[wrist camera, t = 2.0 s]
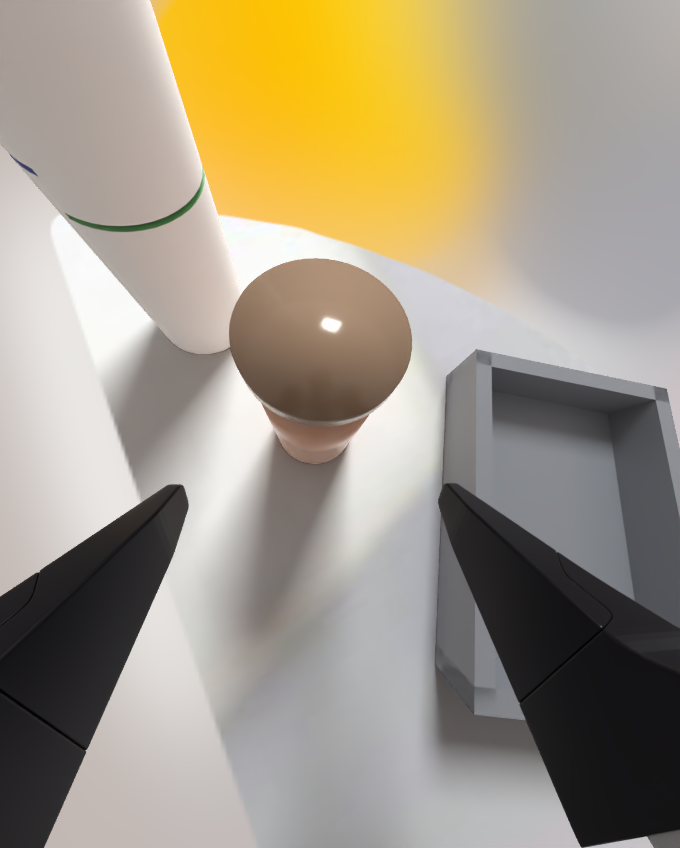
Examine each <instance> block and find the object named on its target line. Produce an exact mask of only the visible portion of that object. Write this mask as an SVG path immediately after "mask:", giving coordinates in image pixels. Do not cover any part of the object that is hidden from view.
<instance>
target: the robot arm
mask: <svg viewBox="0 0 680 848" xmlns="http://www.w3.org/2000/svg"><path fill="white" fill-rule="evenodd" d="M438 504H439V508H440V511H441V515H442V518H443V521H444V524H445V528H446V531H447V534H448V537H449V540H450V543H451V546H452V548H453V551H454V553H455V556H456V558H457V560H458V563H459V565H460V567H461V570H462V572H463V574H464V577H465V579H466V581H467V584H468V586H469V588H470V591H471V593H472V595H473V598H474V600H475V602H476V605H477V607H478V609H479V612H480V614H481V616H482V619H483V621H484V623H485V626H486V628H487V630H488V633H489V635H490V637H491V640H492V642H493V644H494V647H495V649H496V651H497V654H498V656H499V658H500V661H501V663H502V665H503V668H504V670H505V672H506V675H507V677H508V679H509V682H510V684H511V686H512V689H513V691H514V693H515V696H516V698H517V700H518V702H519V703H520V704H519V706H520V708H521V710H522V713H523V715H524V717H525V720H526V722H527V724H528V727H529V729H530V731H531V734H532V736H533V738H534V741H535V743H536V745H537V748H538V750H539V752H540V755H541V757H542V759H543V762H544V764H545V766H546V769H547V771H548V773H549V776H550V778H551V780H552V783H553V785H554V787H555V790H556V792H557V794H558V797H559V799H560V801H561V804H562V806H563V808H564V811H565V813H566V815H567V818H568V820H569V822H570V825H571V827H572V829H573V832H574V834H575V836H576V838H577V840H578V842H579V844H580V846H581V847H582V848H584V847H590V846H595V845H601V844H606V843H612V842H618V841H623V840H629V839H634V838H640V837H645V836H647V837H648V839H649V840H650V842H651V844H652V845H653V847H654V848H680V628H679V627H677V626H675V625H674V624H672V623H670V622H669V621H667V620H665V619H664V618H662V617H661V616H659V615H657V614H656V613H654V612H652V611H651V610H649V609H647V608H646V607H644V606H643V605H641V604H639V603H638V602H636V601H634V600H633V599H631V598H629V597H628V596H626V595H624V594H623V593H621V592H620V591H618V590H616V589H615V588H613V587H611V586H610V585H608V584H607V583H605V582H603V581H602V580H600V579H599V578H597V577H595V576H594V575H592V574H591V573H589V572H588V571H586V570H585V569H583V568H582V567H580V566H578V565H577V564H575V563H574V562H572V561H571V560H569V559H568V558H567V557H565V556H564V555H562V554H561V553H559V552H556V550H555V549H553V548H552V547H550V546H549V545H547V544H546V543H544V542H543V541H541V540H540V539H538V538H537V537H535V536H534V535H533V534H531V533H530V532H528V531H527V530H525V529H524V528H522V527H521V526H519V525H518V524H516V523H515V522H513V521H512V520H510V519H509V518H507V517H506V516H504V515H503V514H502V513H500V512H499V511H497V510H496V509H494V508H493V507H491V506H490V505H488V504H487V503H485V502H484V501H482V500H481V499H479V498H478V497H476V496H475V495H474V494H472V493H471V492H469V491H468V490H466V489H465V488H463V487H462V486H460V485H459V484H457V483H445V484H444V485H443V487H442V490H441V493H440V496H439V499H438ZM188 506H189V504H188V499H187V496H186V492H185V489H184V486H183V485H181V484H171V485H167V486H166V487H164V488H163V489H161V490H160V491H158V492H157V493H155V494H154V495H152V496H151V497H149V498H148V499H146V500H145V501H143V502H142V503H140V504H139V505H137V506H136V507H134V508H133V509H131V510H130V511H128V512H127V513H125V514H124V515H122V516H121V517H119V518H118V519H116V520H115V521H113V522H112V523H110V524H109V525H107V526H106V527H104V528H103V529H101V530H100V531H98V532H97V533H95V534H94V535H92V536H91V537H89V538H88V539H86V540H85V541H83V542H82V543H80V544H79V545H77V546H76V547H74V548H73V549H71V550H70V551H68V552H67V553H65V554H64V555H62V556H61V557H59V558H58V559H56V560H55V561H53V562H52V563H50V564H49V565H47V566H46V567H44V568H43V569H41V570H40V572H39V573H35V574H34V575H32V576H31V577H29V578H28V579H26V580H25V581H23V582H22V583H20V584H19V585H17V586H16V587H14V588H13V589H11V590H10V591H8V592H7V593H5V594H3V595H2V596H1V597H0V848H44V846H45V844H46V842H47V839H48V837H49V835H50V833H51V831H52V828H53V826H54V824H55V821H56V819H57V817H58V815H59V813H60V810H61V808H62V806H63V803H64V801H65V799H66V796H67V794H68V792H69V790H70V788H71V785H72V783H73V781H74V778H75V776H76V774H77V772H78V770H79V767H80V765H81V763H82V761H83V758H84V756H85V754H86V751H85V750H87V748H88V747H89V744H90V742H91V740H92V738H93V735H94V733H95V731H96V728H97V726H98V724H99V722H100V719H101V717H102V715H103V713H104V710H105V708H106V706H107V704H108V701H109V699H110V697H111V694H112V692H113V690H114V688H115V686H116V683H117V681H118V679H119V676H120V674H121V672H122V670H123V668H124V665H125V663H126V661H127V659H128V656H129V654H130V652H131V649H132V647H133V645H134V643H135V640H136V638H137V636H138V634H139V631H140V629H141V627H142V625H143V623H144V620H145V618H146V616H147V613H148V611H149V609H150V607H151V604H152V602H153V600H154V598H155V595H156V593H157V591H158V589H159V586H160V584H161V582H162V579H163V577H164V575H165V573H166V571H167V568H168V566H169V564H170V562H171V559H172V557H173V554H174V551H175V549H176V546H177V542H178V539H179V536H180V533H181V530H182V527H183V524H184V520H185V517H186V514H187V511H188Z"/></svg>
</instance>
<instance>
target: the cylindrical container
mask: <svg viewBox="0 0 680 848" xmlns="http://www.w3.org/2000/svg"><path fill="white" fill-rule="evenodd" d="M0 144H1V145H2V146H3V148H4V149H6V151H8V153H9V154H10V156H11V157H12V158H13V159H14V160H15V162H16V163H17V164H18V165H19V166H20V167H21V168H22V170H23V171H24V172H25V173H26V174H27V175H28V176H29V178H30V179H31V180H32V181H33V182H34V183H35V185H36V186H37V187H38V188H39V189H40V190H41V191H42V193H43V194H44V195H45V196H46V197H47V198H48V199H49V201H50V202H51V203H52V204H53V205H54V206H55V208H56V209H57V210H58V211H59V212H60V213H61V215H62V216H63V217H64V218H65V219H66V220H67V222H68V223H69V224H70V225H71V226H72V227H73V229H74V230H75V231H76V232H77V233H78V234H79V235H80V237H81V238H82V239H83V240H84V241H85V242H86V244H87V245H88V246H89V247H90V248H91V249H92V250H93V252H94V253H95V254H96V255H97V256H98V257H99V259H100V260H101V261H102V262H103V263H104V264H105V265H106V267H107V268H108V269H109V270H110V271H111V272H112V274H113V275H114V276H115V277H116V278H117V279H118V281H119V282H120V283H121V284H122V285H123V286H124V287H125V289H126V290H127V291H128V292H129V293H130V294H131V296H132V297H133V298H134V299H135V300H136V301H137V303H138V304H139V305H140V306H141V307H142V308H143V309H144V311H145V312H146V313H147V314H148V315H149V316H150V318H151V319H152V320H153V321H154V322H155V323H156V325H157V326H158V327H159V328H160V329H161V330H162V332H163V333H164V334H165V335H166V336H167V337H168V338H169V340H170V341H171V342H172V343H173V344H174V345H176V346H177V347H179V348H180V349H183V350H185V351H187V352H191V353H195V354H213V353H218V352H221V351H224V350H226V349H228V348H230V343H229V324H230V319H231V315H232V312H233V309H234V307H235V304H236V302H237V300H238V299H239V297H240V295H241V294H242V289H241V286H240V283H239V280H238V277H237V274H236V271H235V267H234V264H233V261H232V258H231V255H230V252H229V248H228V245H227V242H226V239H225V236H224V233H223V229H222V226H221V223H220V220H219V217H218V214H217V210H216V207H215V204H214V201H213V198H212V195H211V192H210V189H209V185H208V182H207V179H206V176H205V173H204V169H203V166H202V164H201V160H200V157H199V154H198V151H197V147H196V144H195V141H194V138H193V135H192V131H191V129H190V125H189V122H188V119H187V116H186V112H185V109H184V106H183V103H182V100H181V97H180V93H179V90H178V87H177V84H176V81H175V78H174V74H173V71H172V68H171V65H170V62H169V59H168V56H167V52H166V49H165V46H164V43H163V40H162V37H161V34H160V30H159V27H158V24H157V21H156V17H155V14H154V11H153V8H152V5H151V2H150V0H0Z"/></svg>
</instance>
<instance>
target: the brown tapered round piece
mask: <svg viewBox="0 0 680 848" xmlns="http://www.w3.org/2000/svg"><path fill="white" fill-rule="evenodd" d="M229 343H230V348H231V353H232V356H233V359H234V361H235V364H236V366H237V368H238V370H239V372H240V374H241V376H242V377H243V379H244V381H245V383H246V384H247V386H248V388H249V389H250V391H251V392H252V393H253V394H254V396H255V397H256V398H257V399H258V400H259V401H260V402H261V403H262V405H263V407H264V410H265V412H266V414H267V416H268V418H269V420H270V422H271V424H272V426H273V428H274V430H275V432H276V434H277V436H278V438H279V440H280V443H281V444H282V446H283V448H284V449H285V450H286V452H287V453H288V454H289V455H291V456H292V457H293V458H295V459H297V460H299V461H301V462H304V463H308V464H320V463H325V462H328V461H330V460H333V459H334V458H336V457H337V456H338V455H340V454H341V453H342V452H343V450H344V449H345V448H346V446H347V445H348V444H349V442H350V441H351V439H352V438H353V437H354V435H355V434H356V432H357V431H358V430H359V428H360V427H361V425H362V424H363V423H364V421H365V420H366V419H367V417H368V416H369V414H370V413H372V412H373V411H374V410H376V409H377V408H378V407H379V406H381V405H382V404H383V403H384V402H385V400H386V399H387V398H388V397H389V396H390V395H391V393H392V392H393V391H394V389H395V388H396V387H397V385H398V384H399V383H400V381H401V380H402V378H403V376H404V374H405V372H406V370H407V368H408V364H409V361H410V357H411V351H412V336H411V329H410V325H409V321H408V318H407V316H406V314H405V311H404V309H403V307H402V306H401V304H400V302H399V301H398V299H397V298H396V297H395V295H394V294H393V293H392V292H391V291H390V290H389V289H388V288H387V287H386V286H385V285H384V284H383V283H382V282H381V281H379V280H378V279H377V278H375V277H374V276H372V275H371V274H369V273H368V272H366V271H364V270H362V269H360V268H358V267H355V266H353V265H350V264H347V263H344V262H340V261H335V260H329V259H317V258H314V259H301V260H294V261H291V262H287V263H283V264H281V265H278V266H276V267H273V268H272V269H270V270H268V271H266V272H264V273H263V274H261V275H260V276H259V277H257V278H256V279H255V280H254V281H253V282H251V283H250V284H249V285H248V286H247V288H246V289H245V290H244V291H243V293H242V294H241V295H240V297H239V299H238V300H237V302H236V304H235V307H234V309H233V312H232V315H231V319H230V324H229Z"/></svg>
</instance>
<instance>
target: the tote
mask: <svg viewBox="0 0 680 848" xmlns="http://www.w3.org/2000/svg"><path fill="white" fill-rule="evenodd" d="M445 483H457V484H459V485H460V486H462V487H463V488H465V489H466V490H468V491H469V492H471V493H472V494H474V495H475V496H476V497H478V498H479V499H481V500H482V501H484V502H485V503H487V504H488V505H490V506H491V507H493V508H494V509H496V510H497V511H499V512H500V513H502V514H503V515H504V516H506V517H507V518H509V519H510V520H512V521H513V522H515V523H516V524H518V525H519V526H521V527H522V528H524V529H525V530H527V531H528V532H530V533H531V534H533V535H534V536H535V537H537V538H538V539H540V540H541V541H543V542H544V543H546V544H547V545H549V546H550V547H552V548H553V549H555V550H556V552H559V553H561V554H562V555H564V556H565V557H567V558H568V559H569V560H571V561H572V562H574V563H575V564H577V565H578V566H580V567H582V568H583V569H585V570H586V571H588V572H589V573H591V574H592V575H594V576H595V577H597V578H599V579H600V580H602V581H603V582H605V583H607V584H608V585H610V586H611V587H613V588H615V589H616V590H618V591H620V592H621V593H623V594H624V595H626V596H628V597H629V598H631V599H633V600H634V601H636V602H638V603H639V604H641V605H643V606H644V607H646V608H647V609H649V610H651V611H652V612H654V613H656V614H657V615H659V616H661V617H662V618H664V619H665V620H667V621H669V622H670V623H672V624H674V625H675V626H677V627H679V628H680V448H679V444H678V439H677V435H676V430H675V425H674V421H673V416H672V412H671V407H670V402H669V398H668V393H667V389H665V388H660V387H656V386H651V385H646V384H641V383H636V382H631V381H627V380H621V379H616V378H612V377H607V376H602V375H598V374H593V373H588V372H583V371H578V370H573V369H569V368H564V367H559V366H554V365H549V364H544V363H540V362H535V361H530V360H525V359H520V358H515V357H511V356H506V355H501V354H496V353H491V352H486V351H482V350H477V349H476V350H475V351H474V352H473V353H472V354H471V355H470V356H469V357H467V358H466V359H465V360H464V361H463V362H462V363H461V364H460V365H458V366H457V367H456V368H455V369H454V370H453V371H452V372H451V373H450V374H448V375H447V387H446V411H445V436H444V460H443V484H442V487H443V485H444V484H445ZM435 665H436V666H437V667H438V668H439V670H440V671H441V672H442V674H443V675H444V676H445V677H446V679H447V680H448V681H449V683H450V684H451V685H452V687H453V688H454V689H455V690H456V692H457V693H458V694H459V696H460V697H461V698H462V699H463V701H464V702H465V703H466V705H467V706H468V707H469V708H470V710H471V711H472V712H473V714H474V715H481V716H490V717H499V718H509V719H518V720H525V717H524V715H523V713H522V710H521V708H520V706H519V704H520V703H519V702H518V700H517V698H516V696H515V693H514V691H513V689H512V686H511V684H510V682H509V679H508V677H507V675H506V672H505V670H504V668H503V665H502V663H501V661H500V658H499V656H498V654H497V651H496V649H495V647H494V644H493V642H492V640H491V637H490V635H489V633H488V630H487V628H486V626H485V623H484V621H483V619H482V616H481V614H480V612H479V609H478V607H477V605H476V602H475V600H474V598H473V595H472V593H471V591H470V588H469V586H468V584H467V581H466V579H465V577H464V574H463V572H462V570H461V567H460V565H459V563H458V560H457V558H456V556H455V553H454V551H453V548H452V546H451V543H450V540H449V537H448V534H447V531H446V528H445V524H444V521H443V518H442V515H441V533H440V558H439V582H438V607H437V631H436V656H435Z"/></svg>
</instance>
